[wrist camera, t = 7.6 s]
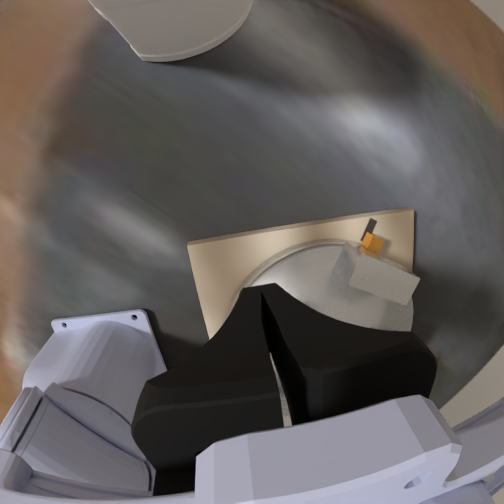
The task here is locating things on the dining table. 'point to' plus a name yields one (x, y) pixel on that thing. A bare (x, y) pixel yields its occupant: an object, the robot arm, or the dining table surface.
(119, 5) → the jar
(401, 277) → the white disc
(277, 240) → the nut base
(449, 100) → the dining table surface
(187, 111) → the dining table surface
